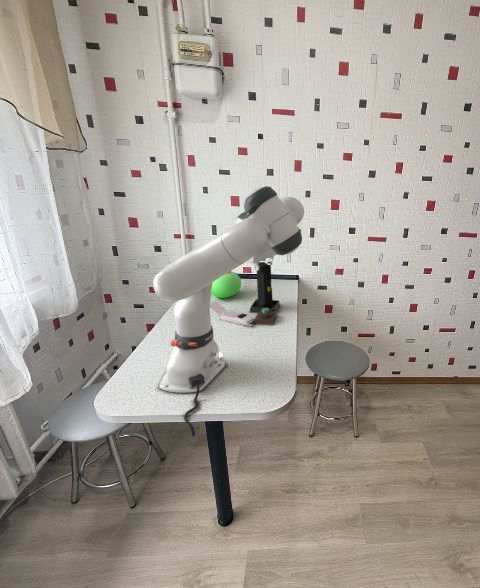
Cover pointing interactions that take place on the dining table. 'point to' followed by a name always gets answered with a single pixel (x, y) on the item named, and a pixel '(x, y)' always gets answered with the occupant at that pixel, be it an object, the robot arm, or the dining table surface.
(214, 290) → the green egg-shaped ball
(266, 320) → the switch block
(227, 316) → the pale pink bent bar
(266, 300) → the portable radio
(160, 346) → the dining table surface
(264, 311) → the power button
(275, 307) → the black square tray
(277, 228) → the robot arm
